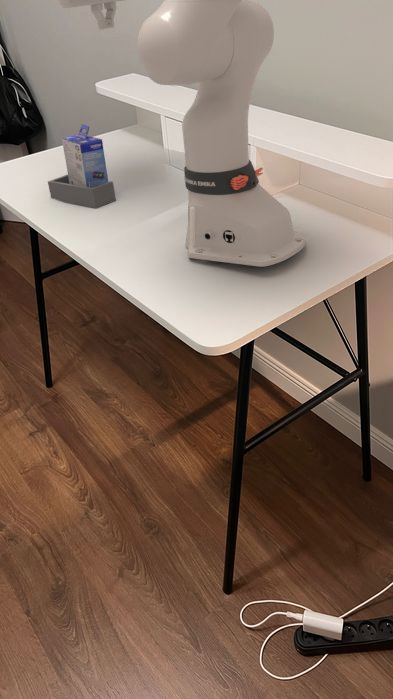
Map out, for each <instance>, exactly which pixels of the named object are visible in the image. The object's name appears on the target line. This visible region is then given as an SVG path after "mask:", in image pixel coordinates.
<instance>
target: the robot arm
mask: <svg viewBox="0 0 393 699" xmlns="http://www.w3.org/2000/svg"><path fill="white" fill-rule="evenodd" d="M123 1H125V0H58V3H59V4H60V6H61V7H62V8H63V9H70V8H77V7H85V6H86V7H87V6H90V11H91V13H92V15H93V16H94V17H95V19H96V21H97V24H98V25H97V26H98V29H99V30H108V29H113V28H115V22H114V20H115V19H114V18H115V15H116V11H117V4H116V3H117V2H123ZM103 10H106V12H105V15H104V13H103ZM274 37H275V28H274V23H273V20H272V18H271V14H270V13H269V11H268V10H267V9H266V7H265V6H263V5H262V4H260V3H259V2H256V1H253V0H163V2H162V3H161V4H160V6H159V7H158V8H157V9H156V10H155V11H154V12H153V13H152V14H151V15H150V16H149V17H147V18H146V19H145V20H144V21H143V23H142V24H141V26H140V28H139V31H138V35H137V41H136V50H137V56H138V60H139V63H140V66H141V68H142V69H143V72H144V73H145V74H146V75H147V77H148V78H149V79H150V80H151V81H152V82H153V83H156V84H158V85H161V86H162V85H163V86H179V87H181V86H183V87H184V86H185V87H187V86H190V85H193V84H197V83H198V88H197V91H196V94H195V98H194V101H193V103H192V104H191V106H190V107H189V109H188V110H187V111H186V113H185V114H184V116H183V119H182V123H181V125H182V126H181V129H182V130H181V131H182V138H183V149H184V159H185V166H184V167H183V169H184V170H183V174H184V183H185V189H186V190H187V193H188V194H187V195H188V197H187V199H188V206H187V207H188V212H187V214H188V216H187V229H186V230H187V231H186V236H185V241H184V244H185V247H186V249H187V256H188V257H189V258H190V259H194V260H195V259H196V260H203V261H212V262H219V263H220V262H221V263H227V264H228V263H229V264H235V265H242V266H243V265H245V266H253V267H268V266H273V265H276V264H279V263H282V262H284V261H285V260H287V259H289V258H291V257H293V256H295V255H296V254H297V253H299V252H300V251H301V250H302V249H303V248H304V247H305V246H306V243H307V240H306V239H307V238H306V235H305V234H302V233H299V232H296V231H294V228H293V222H292V217H291V214H290V211H289V209H288V208H287V207H286V206H285V205H283V203H281V202H280V201H279V200H278V199H276V198H275V197H274V196H273V195H272V194H271V193H270V192H268V190H267V189H266V188H264V187H263V186H261V185H260V183H259V181H260V180H259V176H261V175H263V173H264V172H261V171H262V170H264V168H263V167H259V168H258V169H255V168H254V165H253V163H252V161H251V160H250V156H249V155H250V153H249V152H250V151H249V112H250V104H251V99H252V95H253V89H254V87H255V86H254V85H255V82H256V78H257V75H258V73H259V71H260V68H261V66H262V64H263V63H264V60H266V58H267V57H268V55H269V53H270V52H271V50H272V47H273V44H274V39H275V38H274Z"/></svg>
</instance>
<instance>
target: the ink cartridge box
mask: <svg viewBox="0 0 393 699" xmlns="http://www.w3.org/2000/svg"><path fill="white" fill-rule="evenodd" d="M83 130H85V132H83ZM89 130H90V126H89V125H86V124H81V125H80V128H79V130H78V134H76V135H69V136H66V137H62V138H61V141H62V147H63V153H64V154H63V155H64V159H65V165H66V170H67V171H66V172H67V175H68V178H69V184H73V185H79V186H84V187H90V188H94V187H96V186H99V185H102V184H104V183H107V182H109V177H108V176H109V175H108V171H107V164H106V163H107V162H106V159H105V158H106V157H105V150H104V142H103V139H102V138H98V137H94V136H90V135H88V133H89Z"/></svg>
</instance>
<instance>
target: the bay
mask: <svg viewBox="0 0 393 699" xmlns="http://www.w3.org/2000/svg"><path fill="white" fill-rule="evenodd" d="M47 184H48V189H49V193H50V198H52V199H54V200H57V201H60V202H62V203H66V204H71V205H77V206H81V207H85V208H91V209H98V208H101V207H103V206H105V205H108V204H110V203H113V202H115V201H116V199H117V198H116V192H115V186H114V181H112V180H110V181H109V180H108V182H107V183H104V184H102V185H99V186H96V187H94V188H90V187H84V186H79V185H73V184H69V178H68V174H66V175H62V176H60V177H57V178H54V179H51V180H48V181H47Z"/></svg>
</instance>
